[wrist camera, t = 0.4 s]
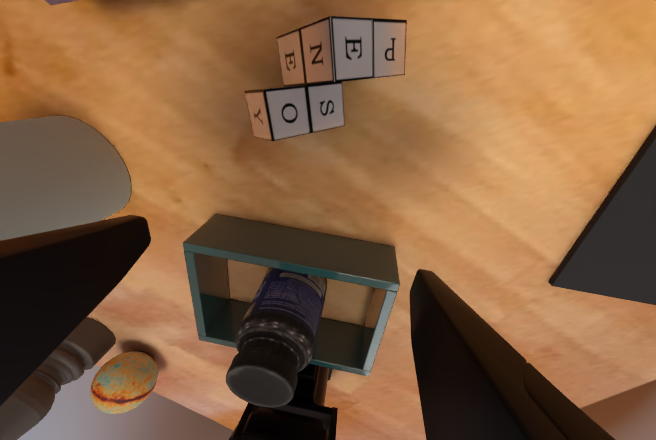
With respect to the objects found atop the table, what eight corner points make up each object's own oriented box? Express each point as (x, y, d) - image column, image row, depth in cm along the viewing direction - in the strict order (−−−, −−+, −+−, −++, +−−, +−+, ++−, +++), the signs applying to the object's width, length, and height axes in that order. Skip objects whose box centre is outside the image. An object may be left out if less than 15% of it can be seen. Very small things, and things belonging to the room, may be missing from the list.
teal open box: (369, 332, 29) (369, 376, 25) (223, 302, 31) (198, 340, 26) (394, 246, 24) (400, 284, 20) (215, 213, 25) (182, 242, 21)
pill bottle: (265, 251, 26) (204, 352, 17) (327, 255, 25) (300, 364, 16) (273, 298, 29) (224, 407, 19) (328, 302, 28) (307, 419, 19)
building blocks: (344, 37, 19) (233, 37, 15) (406, 20, 15) (277, 13, 11) (348, 118, 21) (254, 136, 17) (402, 121, 17) (296, 146, 13)
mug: (81, 99, 22) (-116, 114, 13) (150, 200, 25) (33, 265, 17) (-17, 150, 25) (-221, 189, 17) (56, 232, 29) (-80, 299, 20)
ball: (162, 378, 40) (125, 431, 34) (118, 357, 39) (72, 409, 33) (174, 355, 37) (135, 410, 31) (126, 332, 36) (76, 384, 30)
